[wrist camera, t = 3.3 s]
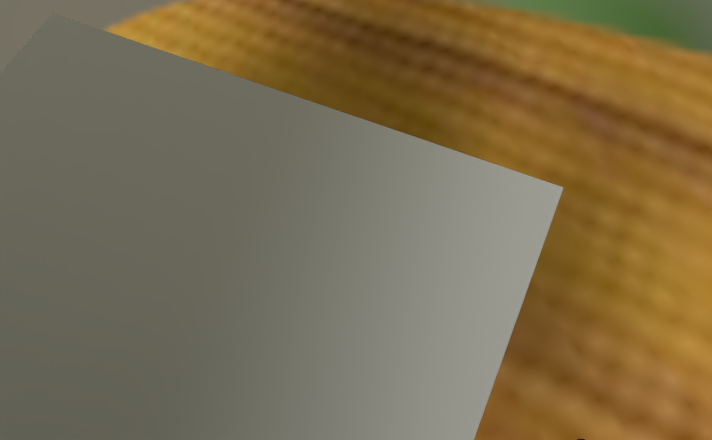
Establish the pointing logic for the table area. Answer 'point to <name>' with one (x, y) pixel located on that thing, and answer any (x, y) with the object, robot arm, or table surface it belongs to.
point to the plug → (241, 258)
